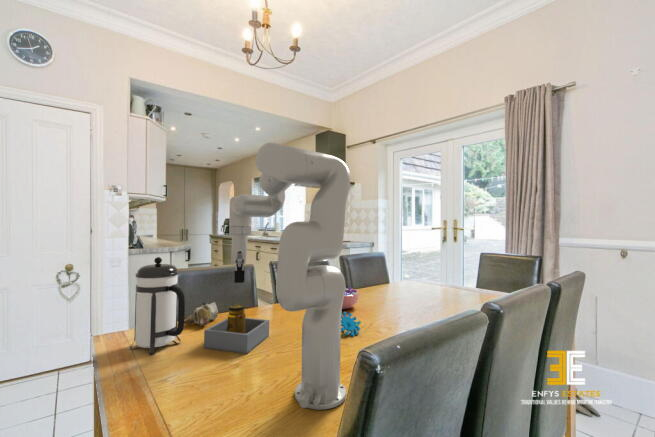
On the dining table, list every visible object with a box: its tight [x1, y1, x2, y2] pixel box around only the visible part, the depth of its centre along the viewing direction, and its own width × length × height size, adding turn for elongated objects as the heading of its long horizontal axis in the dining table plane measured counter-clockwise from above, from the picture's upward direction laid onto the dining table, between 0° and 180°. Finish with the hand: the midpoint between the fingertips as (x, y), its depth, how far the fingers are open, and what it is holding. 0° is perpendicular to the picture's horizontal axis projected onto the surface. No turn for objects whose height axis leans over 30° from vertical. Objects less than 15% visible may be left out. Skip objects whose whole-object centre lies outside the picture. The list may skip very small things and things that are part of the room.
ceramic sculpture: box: [184, 301, 219, 327], centre depth 127 cm, size 11×9×15 cm
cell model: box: [342, 286, 360, 310], centre depth 153 cm, size 17×20×11 cm
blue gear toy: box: [341, 311, 362, 337], centre depth 118 cm, size 11×6×10 cm
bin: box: [203, 317, 270, 355], centre depth 107 cm, size 16×16×6 cm
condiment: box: [227, 304, 246, 334], centre depth 107 cm, size 7×8×12 cm
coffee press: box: [129, 256, 186, 356], centre depth 102 cm, size 17×16×30 cm
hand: (239, 280), depth 107 cm, fingers open, 9 cm apart
